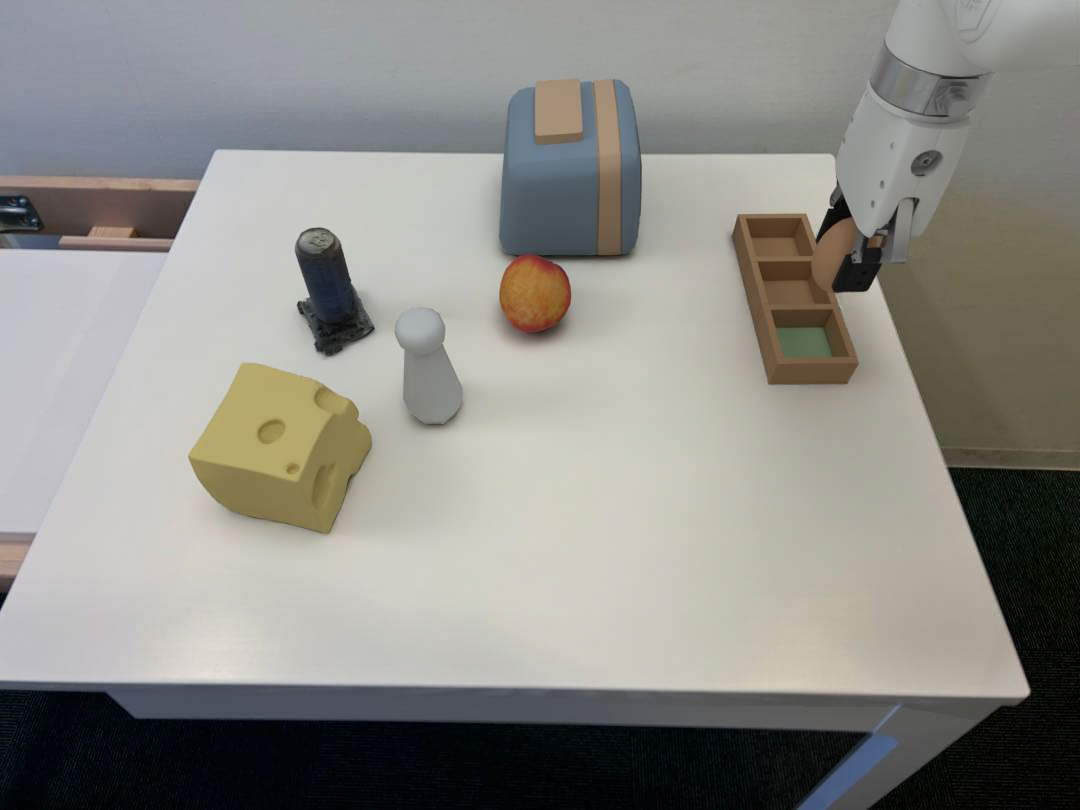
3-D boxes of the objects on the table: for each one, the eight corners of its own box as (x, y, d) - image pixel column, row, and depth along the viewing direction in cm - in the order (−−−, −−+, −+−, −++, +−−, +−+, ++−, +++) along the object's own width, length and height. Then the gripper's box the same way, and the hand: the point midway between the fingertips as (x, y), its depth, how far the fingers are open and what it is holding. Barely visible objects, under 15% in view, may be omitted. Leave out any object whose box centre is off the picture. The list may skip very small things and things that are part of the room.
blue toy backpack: (637, 263, 82) (655, 143, 69) (499, 263, 82) (491, 143, 69) (627, 176, 92) (641, 57, 79) (503, 176, 92) (497, 57, 79)
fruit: (585, 312, 78) (589, 258, 71) (542, 357, 74) (541, 305, 67) (529, 282, 80) (528, 228, 74) (484, 324, 77) (479, 271, 70)
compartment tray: (847, 383, 72) (859, 363, 69) (768, 384, 72) (777, 363, 69) (797, 235, 85) (806, 213, 82) (731, 236, 85) (737, 213, 82)
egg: (844, 265, 68) (876, 198, 61) (867, 303, 65) (902, 237, 58) (793, 271, 67) (820, 204, 61) (814, 310, 64) (844, 244, 58)
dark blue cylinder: (387, 328, 76) (365, 243, 67) (324, 362, 74) (291, 279, 64) (346, 282, 80) (319, 196, 71) (285, 312, 78) (248, 227, 68)
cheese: (375, 443, 68) (352, 380, 59) (328, 543, 62) (296, 488, 53) (277, 421, 69) (241, 357, 61) (222, 516, 63) (175, 459, 55)
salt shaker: (398, 425, 69) (372, 338, 58) (418, 380, 72) (397, 290, 61) (455, 437, 68) (439, 351, 57) (472, 391, 71) (460, 302, 61)
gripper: (1033, 146, 44) (910, 336, 59) (940, 15, 54) (855, 206, 69) (915, 147, 44) (821, 337, 59) (844, 16, 54) (779, 206, 69)
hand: (840, 265), depth 64 cm, fingers closed on egg, 5 cm apart
